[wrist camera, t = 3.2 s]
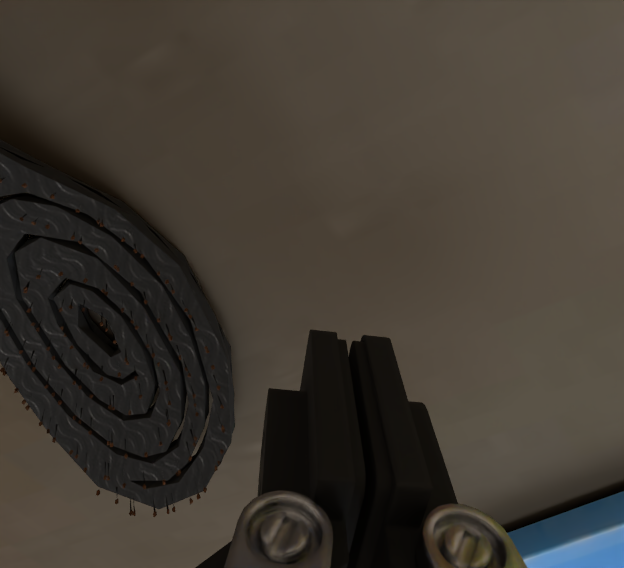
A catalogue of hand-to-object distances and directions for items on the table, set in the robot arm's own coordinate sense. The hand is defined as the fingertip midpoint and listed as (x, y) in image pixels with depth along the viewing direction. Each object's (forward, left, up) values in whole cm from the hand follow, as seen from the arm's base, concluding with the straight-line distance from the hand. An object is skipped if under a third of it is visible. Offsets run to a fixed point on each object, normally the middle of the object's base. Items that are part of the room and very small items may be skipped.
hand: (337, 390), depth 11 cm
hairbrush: (0, -10, -9) cm, 14 cm away
